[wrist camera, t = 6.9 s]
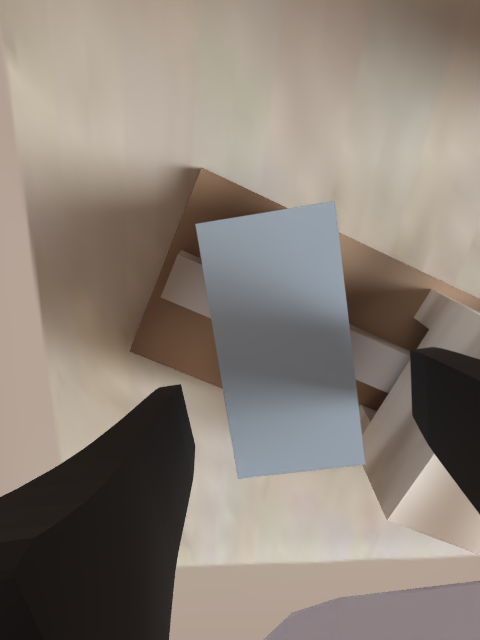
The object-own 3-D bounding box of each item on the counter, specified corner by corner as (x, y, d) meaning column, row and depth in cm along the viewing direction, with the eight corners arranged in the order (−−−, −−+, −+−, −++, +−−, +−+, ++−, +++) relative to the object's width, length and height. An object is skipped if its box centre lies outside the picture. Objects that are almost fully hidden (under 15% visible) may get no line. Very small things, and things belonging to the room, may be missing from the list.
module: (310, 219, 17) (335, 201, 11) (334, 409, 18) (367, 482, 13) (218, 234, 18) (195, 224, 12) (248, 420, 19) (240, 496, 13)
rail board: (522, 319, 20) (665, 386, 13) (424, 459, 22) (502, 574, 16) (203, 168, 18) (181, 157, 11) (134, 343, 20) (83, 420, 14)
